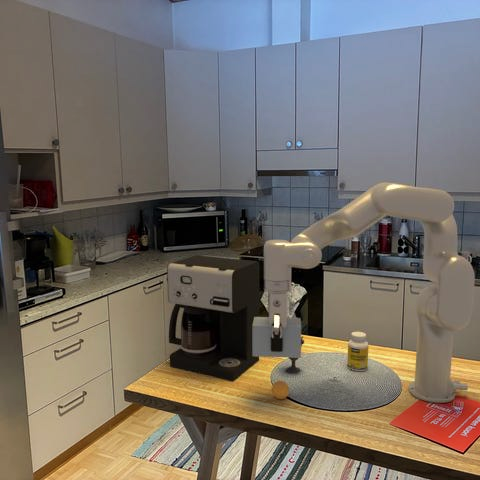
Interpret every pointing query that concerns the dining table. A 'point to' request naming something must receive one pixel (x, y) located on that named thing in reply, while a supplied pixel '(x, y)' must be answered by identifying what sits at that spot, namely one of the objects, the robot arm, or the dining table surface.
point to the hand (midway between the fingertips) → (277, 345)
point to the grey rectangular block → (264, 334)
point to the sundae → (293, 368)
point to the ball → (280, 390)
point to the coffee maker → (214, 314)
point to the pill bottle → (357, 352)
